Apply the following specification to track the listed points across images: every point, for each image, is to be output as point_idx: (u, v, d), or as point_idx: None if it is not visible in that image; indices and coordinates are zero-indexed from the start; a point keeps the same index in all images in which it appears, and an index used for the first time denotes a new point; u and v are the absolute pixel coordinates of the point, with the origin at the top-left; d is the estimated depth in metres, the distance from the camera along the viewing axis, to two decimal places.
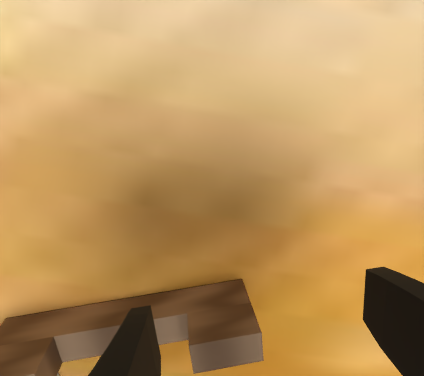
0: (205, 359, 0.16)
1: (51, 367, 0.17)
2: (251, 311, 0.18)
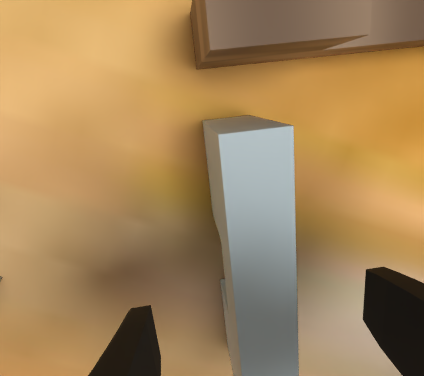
0: None
1: None
2: None
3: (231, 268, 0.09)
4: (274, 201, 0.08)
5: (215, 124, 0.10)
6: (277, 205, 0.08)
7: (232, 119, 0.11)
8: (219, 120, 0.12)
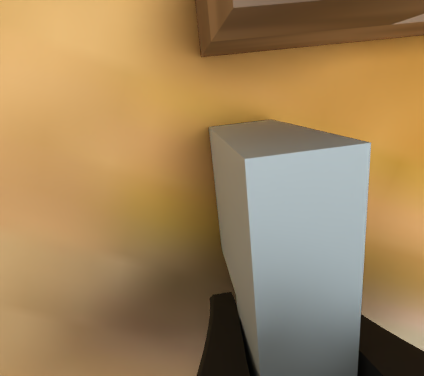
0: None
1: None
2: None
3: (259, 361, 0.06)
4: (331, 263, 0.05)
5: (230, 134, 0.07)
6: (336, 269, 0.05)
7: (251, 126, 0.08)
8: (233, 127, 0.08)
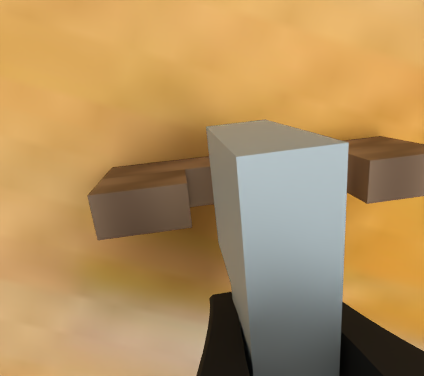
0: (384, 183, 0.13)
1: None
2: (422, 144, 0.15)
3: (250, 340, 0.06)
4: (314, 250, 0.06)
5: (225, 134, 0.08)
6: (319, 256, 0.06)
7: (245, 126, 0.09)
8: (228, 127, 0.09)
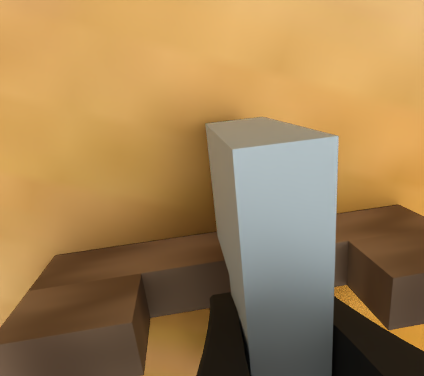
0: (412, 304, 0.10)
1: (143, 320, 0.10)
2: None
3: (247, 325, 0.07)
4: (307, 239, 0.06)
5: (223, 130, 0.08)
6: (311, 244, 0.06)
7: (243, 122, 0.09)
8: (227, 124, 0.09)
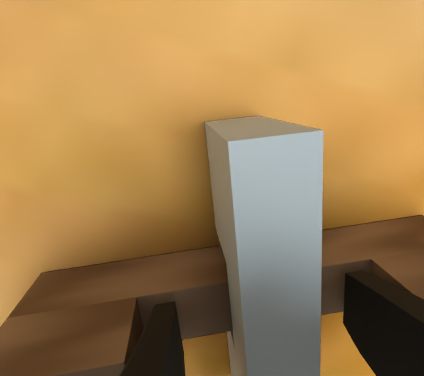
0: None
1: None
2: None
3: (241, 305, 0.07)
4: (296, 224, 0.07)
5: (221, 127, 0.09)
6: (300, 229, 0.07)
7: (240, 120, 0.10)
8: (224, 121, 0.10)
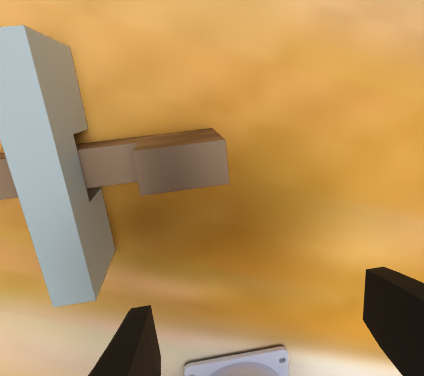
0: (154, 174, 0.13)
1: None
2: (217, 135, 0.14)
3: (2, 141, 0.12)
4: (23, 86, 0.11)
5: None
6: (26, 89, 0.11)
7: None
8: None
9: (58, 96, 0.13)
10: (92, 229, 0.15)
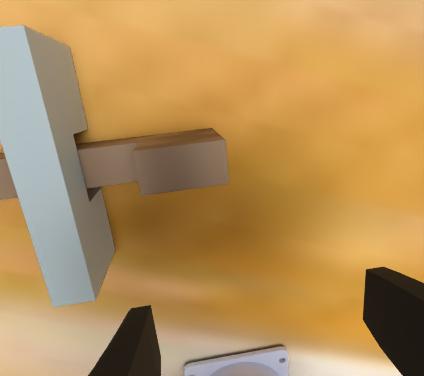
0: (154, 174, 0.13)
1: None
2: (217, 135, 0.14)
3: (2, 141, 0.12)
4: (22, 86, 0.11)
5: None
6: (26, 89, 0.11)
7: None
8: None
9: (58, 96, 0.13)
10: (92, 229, 0.15)
